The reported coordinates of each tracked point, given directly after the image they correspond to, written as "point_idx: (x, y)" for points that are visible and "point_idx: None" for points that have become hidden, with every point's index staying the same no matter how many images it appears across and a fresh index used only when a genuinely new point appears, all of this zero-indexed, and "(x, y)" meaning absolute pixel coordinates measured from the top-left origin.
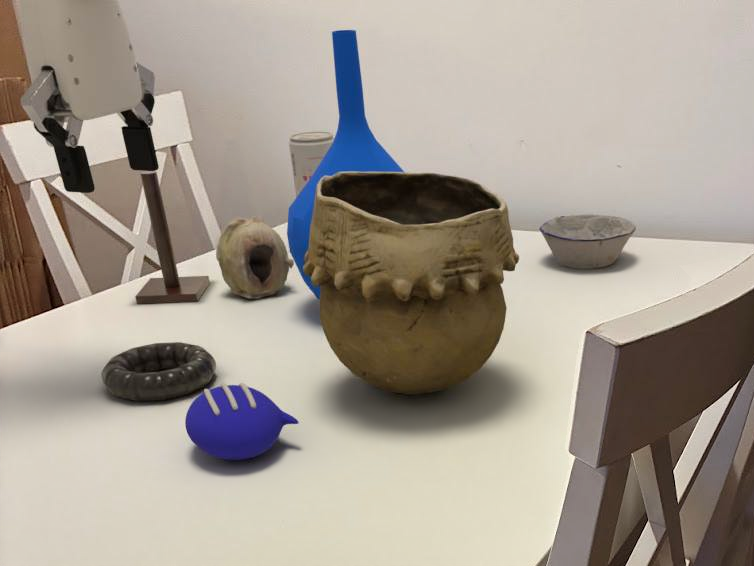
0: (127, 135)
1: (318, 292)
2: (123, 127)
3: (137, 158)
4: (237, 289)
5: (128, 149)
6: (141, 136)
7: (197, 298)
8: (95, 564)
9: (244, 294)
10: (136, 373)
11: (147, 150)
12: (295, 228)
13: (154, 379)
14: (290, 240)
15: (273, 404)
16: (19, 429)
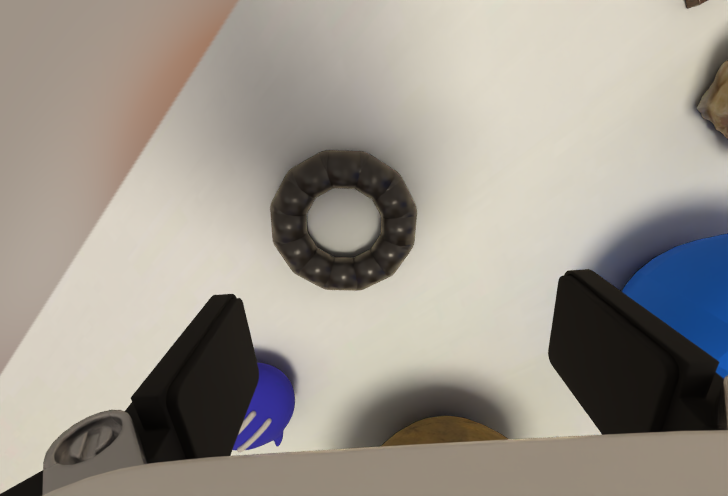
0: (639, 367)
1: (628, 293)
2: (685, 373)
3: (573, 331)
4: (723, 77)
5: (598, 321)
6: (618, 431)
7: (692, 6)
8: (60, 404)
9: (711, 93)
10: (289, 243)
11: (584, 397)
12: (713, 329)
13: (292, 268)
14: (709, 293)
15: (270, 440)
16: (154, 154)
